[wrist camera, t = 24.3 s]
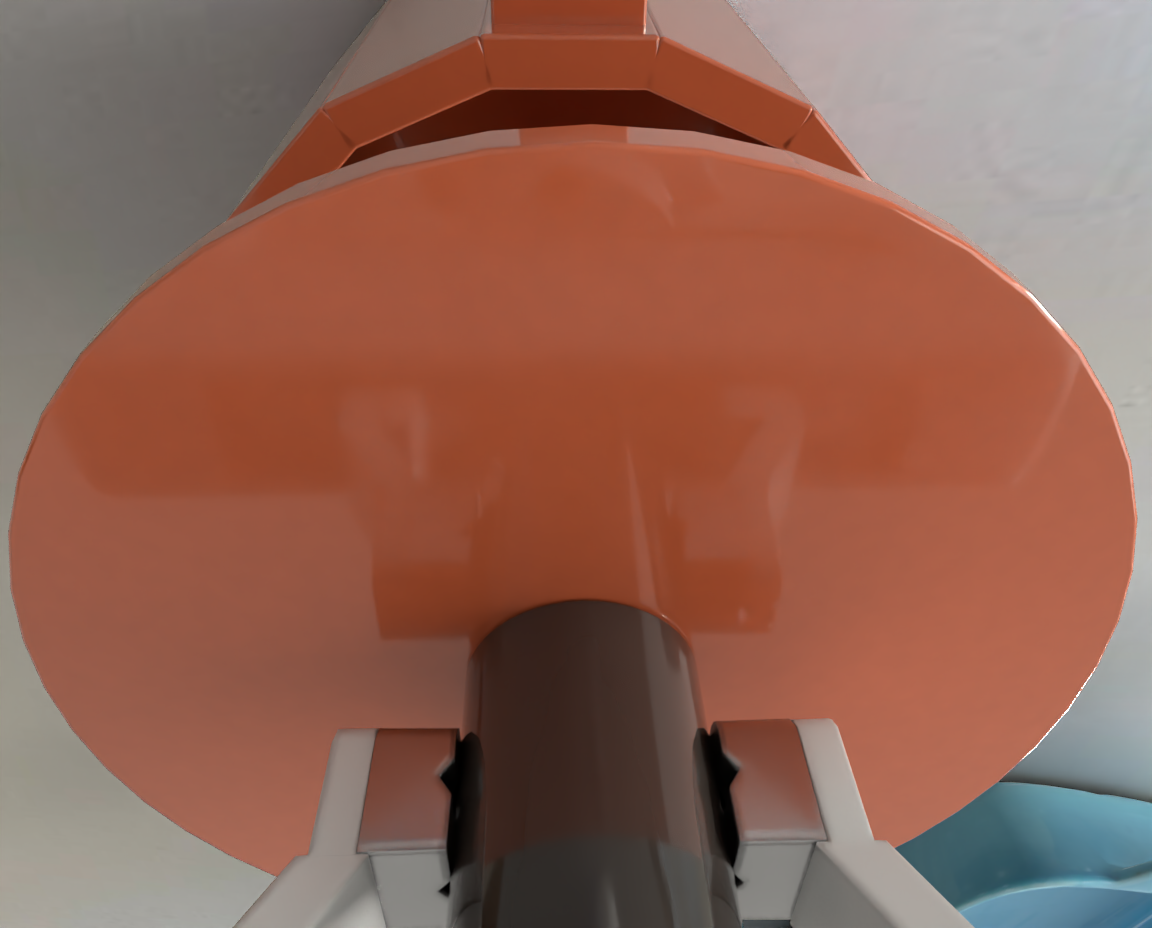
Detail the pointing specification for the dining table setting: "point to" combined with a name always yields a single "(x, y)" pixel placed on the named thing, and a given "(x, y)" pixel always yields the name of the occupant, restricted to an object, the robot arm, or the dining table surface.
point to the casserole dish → (1042, 859)
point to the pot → (545, 81)
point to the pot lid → (571, 508)
